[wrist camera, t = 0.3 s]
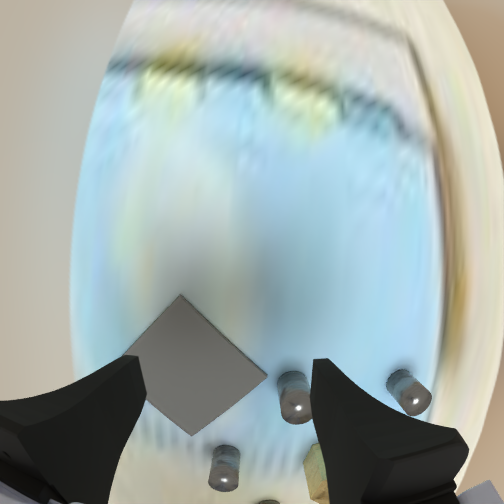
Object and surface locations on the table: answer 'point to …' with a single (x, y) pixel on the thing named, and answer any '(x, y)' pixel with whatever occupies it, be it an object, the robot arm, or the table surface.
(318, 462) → the brass nut
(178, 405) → the mat
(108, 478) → the robot arm
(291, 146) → the table surface
